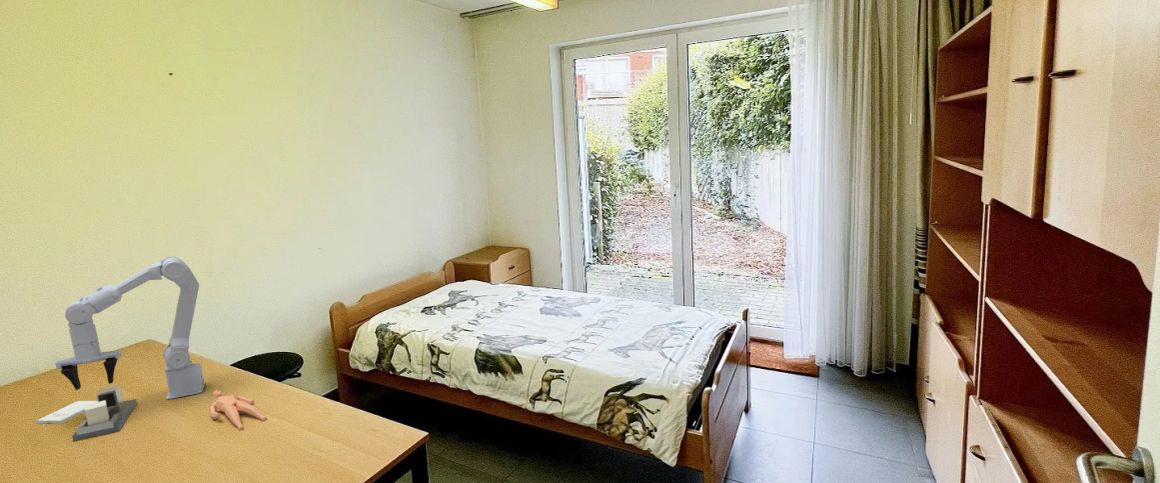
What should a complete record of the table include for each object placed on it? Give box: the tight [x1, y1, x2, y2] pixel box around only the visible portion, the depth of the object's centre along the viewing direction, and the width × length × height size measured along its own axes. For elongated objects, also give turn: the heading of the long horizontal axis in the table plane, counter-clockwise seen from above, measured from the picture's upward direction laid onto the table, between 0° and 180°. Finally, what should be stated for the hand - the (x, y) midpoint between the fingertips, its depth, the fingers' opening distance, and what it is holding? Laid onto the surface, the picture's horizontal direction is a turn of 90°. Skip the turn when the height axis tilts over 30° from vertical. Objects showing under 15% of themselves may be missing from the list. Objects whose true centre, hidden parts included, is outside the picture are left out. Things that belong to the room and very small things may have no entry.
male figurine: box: [208, 389, 268, 431], centre depth 162 cm, size 11×5×25 cm
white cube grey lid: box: [84, 400, 110, 426], centre depth 156 cm, size 5×4×6 cm
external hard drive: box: [35, 400, 98, 425], centre depth 168 cm, size 2×8×12 cm
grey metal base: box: [71, 384, 138, 442], centre depth 161 cm, size 10×20×8 cm, turn 27°
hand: (94, 385), depth 164 cm, fingers open, 7 cm apart
